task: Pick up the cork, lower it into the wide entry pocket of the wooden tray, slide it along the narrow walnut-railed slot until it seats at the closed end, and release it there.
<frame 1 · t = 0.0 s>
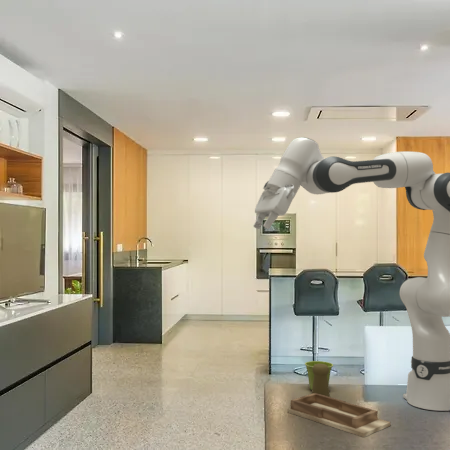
hand: (260, 227, 157), 54 cm above the table, tool tilted 30°, fingers open, 8 cm apart
wooden tray: (337, 418, 155), on the table
plant pot: (318, 390, 185), on the table
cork: (320, 399, 174), on the table
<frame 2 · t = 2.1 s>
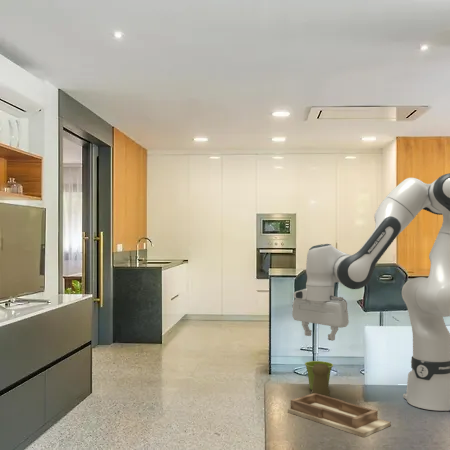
hand: (319, 337, 174), 19 cm above the table, tool pointing down, fingers open, 8 cm apart
nothing on the table moved.
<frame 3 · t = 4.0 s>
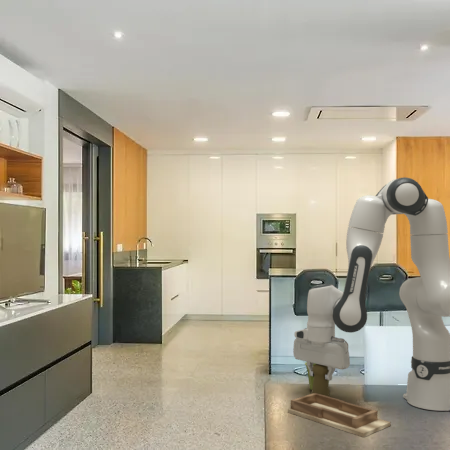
hand: (320, 378, 174), 7 cm above the table, tool pointing down, fingers closed on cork, 5 cm apart
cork: (320, 399, 174), on the table, touching gripper
everything else where it was.
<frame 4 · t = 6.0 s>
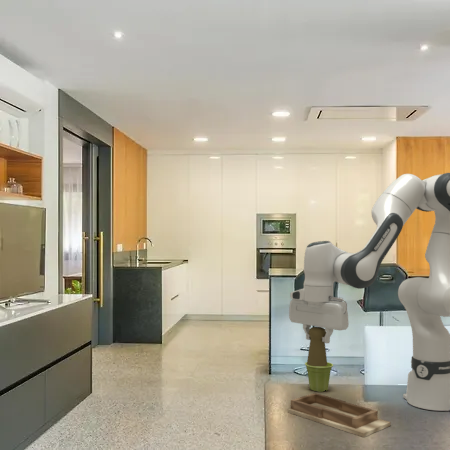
hand: (317, 341, 163), 21 cm above the table, tool pointing down, fingers closed on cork, 5 cm apart
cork: (317, 364, 163), point 14 cm above the table, touching gripper
everything else where it was.
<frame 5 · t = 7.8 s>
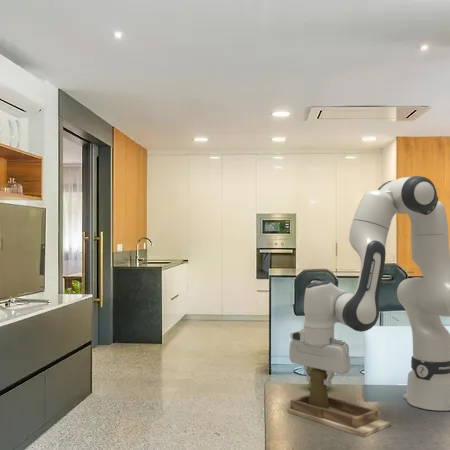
hand: (318, 383, 160), 9 cm above the table, tool pointing down, fingers closed on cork, 5 cm apart
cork: (318, 407, 160), point 2 cm above the table, touching gripper
everything else where it was.
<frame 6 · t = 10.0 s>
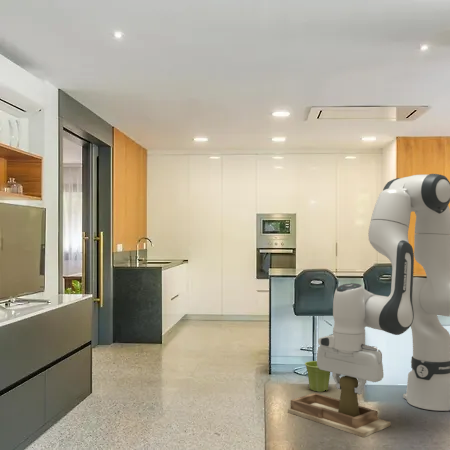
hand: (349, 391, 153), 9 cm above the table, tool pointing down, fingers closed on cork, 5 cm apart
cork: (348, 416, 153), point 2 cm above the table, touching gripper
everything else where it was.
when the fingers open (8 cm above the table, at t = 11.4 s): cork stays where it is, resting on wooden tray.
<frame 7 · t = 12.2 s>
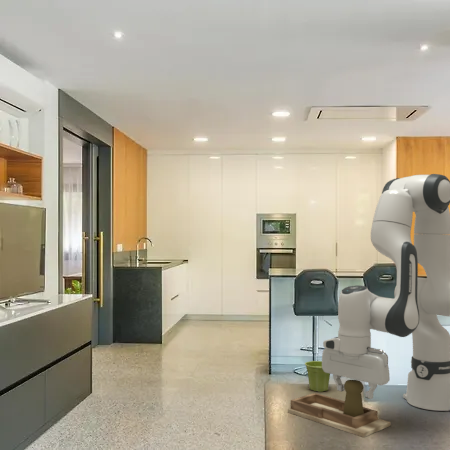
hand: (354, 394, 151), 8 cm above the table, tool pointing down, fingers open, 8 cm apart
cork: (353, 421, 151), point 1 cm above the table, touching wooden tray
everything else where it was.
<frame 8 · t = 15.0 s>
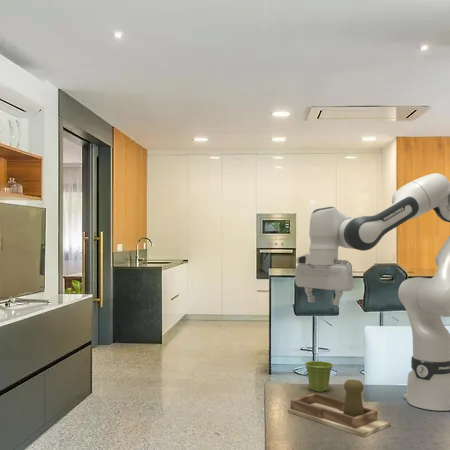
hand: (323, 303, 169), 31 cm above the table, tool pointing down, fingers open, 8 cm apart
nothing on the table moved.
at the end: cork inside the target area (1.3 cm from its centre), point 0.8 cm above the table; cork tilted 0°; the gripper is holding nothing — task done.
